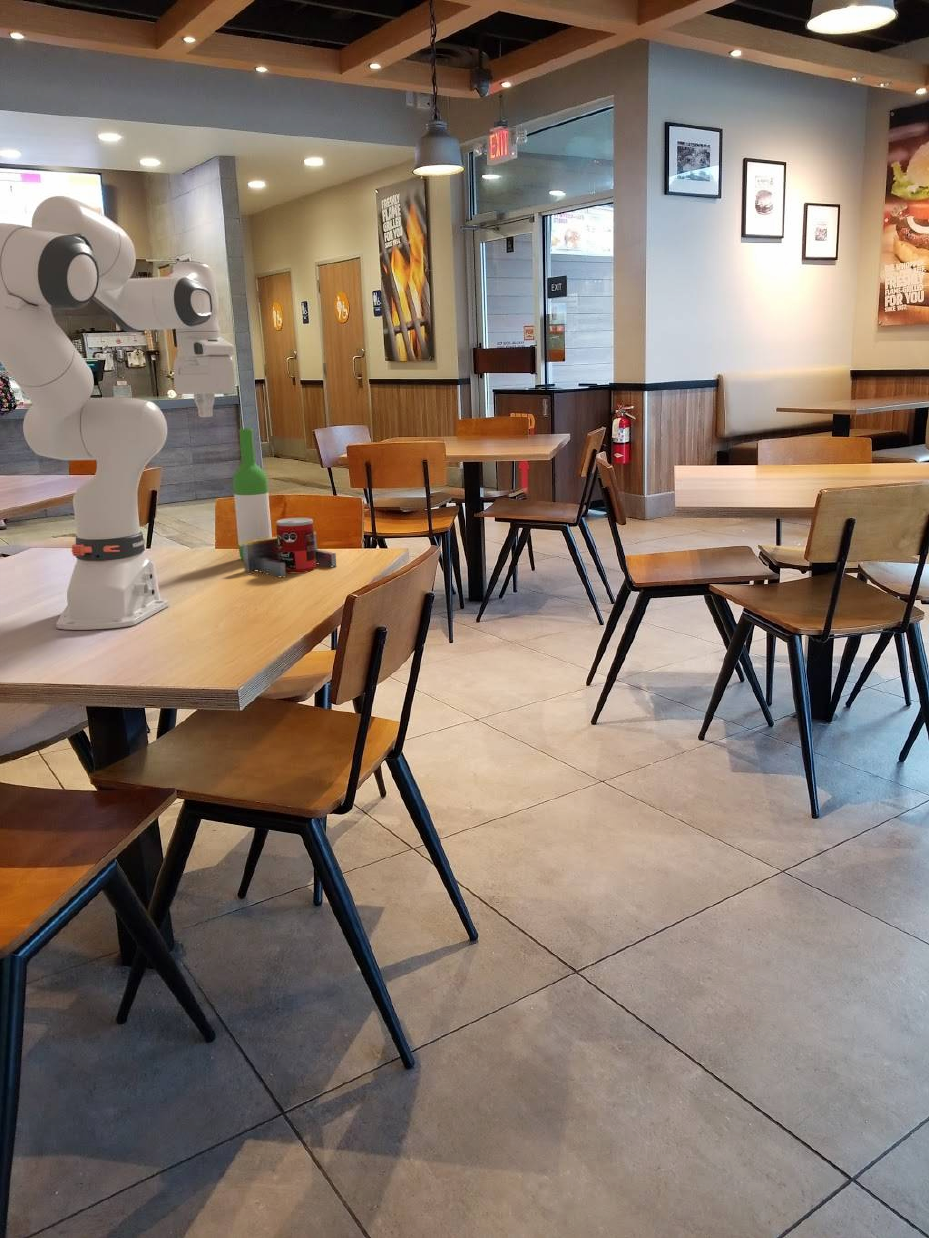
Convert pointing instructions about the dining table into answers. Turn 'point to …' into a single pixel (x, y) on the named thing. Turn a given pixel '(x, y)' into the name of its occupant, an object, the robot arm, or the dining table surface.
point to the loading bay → (275, 556)
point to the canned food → (296, 544)
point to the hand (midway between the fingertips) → (205, 416)
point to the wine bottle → (250, 495)
